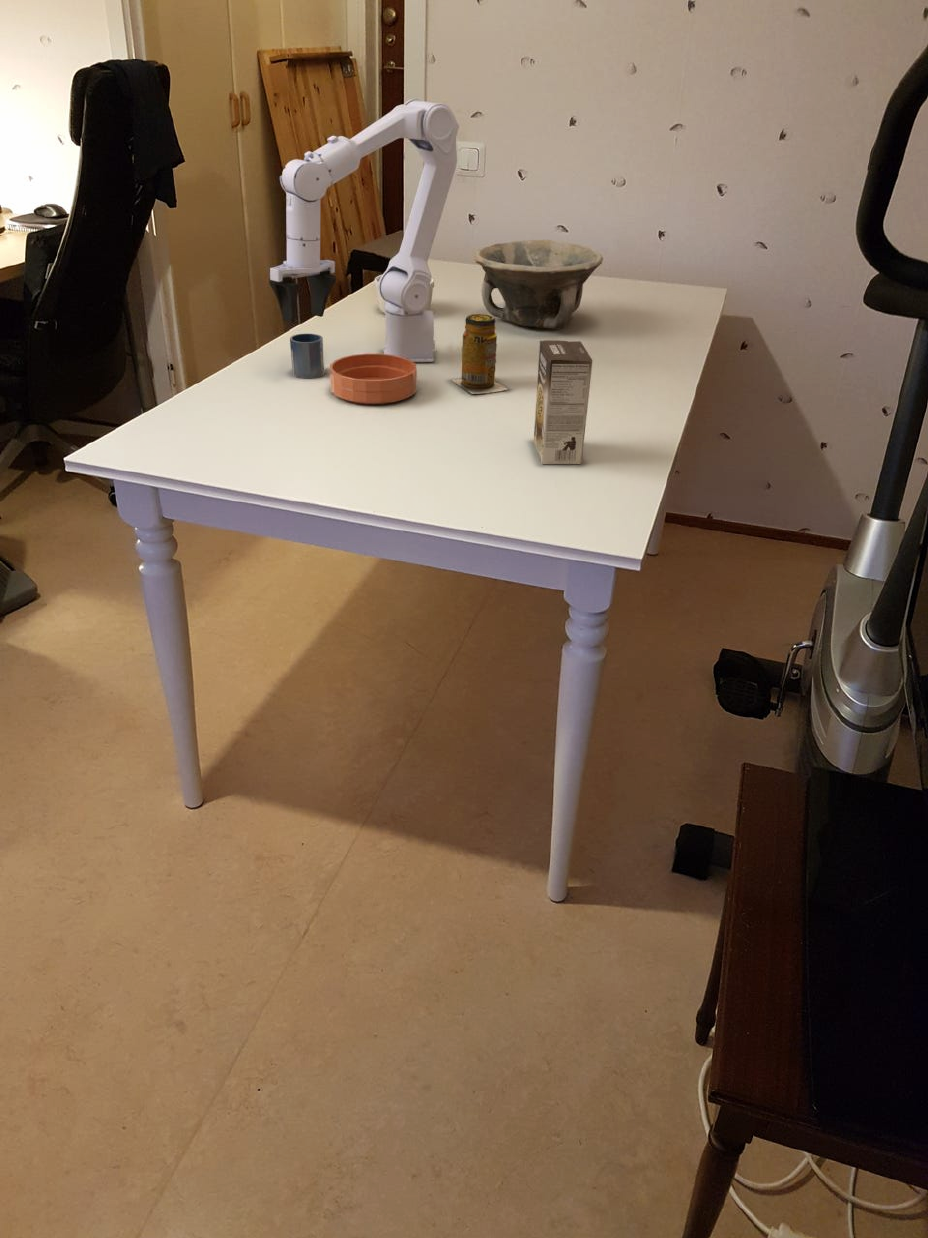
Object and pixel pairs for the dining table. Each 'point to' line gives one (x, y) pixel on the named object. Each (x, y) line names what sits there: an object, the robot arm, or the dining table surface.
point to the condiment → (479, 355)
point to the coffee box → (562, 401)
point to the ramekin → (382, 302)
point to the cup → (307, 355)
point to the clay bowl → (373, 378)
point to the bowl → (536, 280)
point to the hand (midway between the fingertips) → (303, 318)
